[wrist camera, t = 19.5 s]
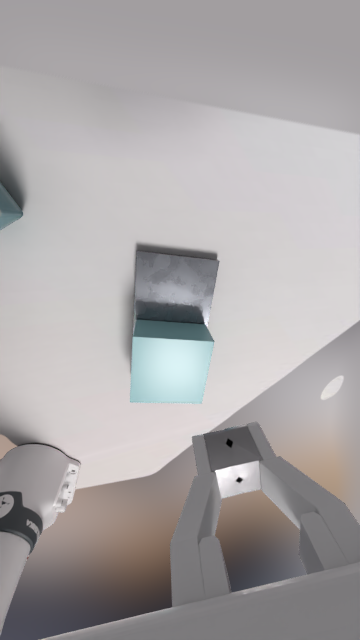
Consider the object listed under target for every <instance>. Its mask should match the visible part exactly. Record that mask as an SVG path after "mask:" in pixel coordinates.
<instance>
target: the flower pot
mask: <svg viewBox="0 0 360 640" xmlns="http://www.w3.org/2000/svg"><path fill="white" fill-rule="evenodd" d="M22 216H23V212H22V210H21V209H20V207H19V206H18V205H17V203H16V202H15V201H14V200H13V198H12V197H11V196H10V194H9V193H8V192H7V190H6V189H5V188H4V186H3V185H2V184H1V182H0V230H2V229H3V228H5V227H6V226H8V225H10V224H11V223H13V222H14V221H16V220H18V219H19V218H21V217H22Z"/></svg>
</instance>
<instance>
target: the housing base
mask: <svg viewBox="0 0 360 640" xmlns="http://www.w3.org/2000/svg"><path fill="white" fill-rule="evenodd" d="M218 266H219V261H218V260H215V259H206V258H197V257H189V256H180V255H172V254H163V253H154V252H146V251H137V256H136V279H135V303H134V326H133V333H134V329H135V325H136V320H151V321H165V322H178V323H192V324H205V325H206V327H207V325H208V320H209V315H210V309H211V304H212V298H213V293H214V288H215V282H216V277H217V271H218Z"/></svg>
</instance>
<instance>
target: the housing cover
mask: <svg viewBox="0 0 360 640" xmlns="http://www.w3.org/2000/svg"><path fill="white" fill-rule="evenodd" d="M213 346H214V340H213V338H212V336H211V334H210V332H209V330H208V329H207V327H206V325H205V324H192V323H178V322H165V321H151V320H136V325H135V329H134V333H133V342H132V366H131V390H130V402H140V403H192V404H202V400H203V395H204V390H205V385H206V380H207V375H208V370H209V365H210V360H211V356H212V351H213Z"/></svg>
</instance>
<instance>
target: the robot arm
mask: <svg viewBox="0 0 360 640" xmlns="http://www.w3.org/2000/svg"><path fill="white" fill-rule="evenodd" d="M203 435H204V436H203ZM204 440H205V441H204ZM192 442H193V448H194V454H195V460H196V466H197V472H198V476H195V477H194V480H193V483H192V485H191V488H190V491H189V494H188V496H187V499H186V502H185V504H184V507H183V510H182V513H181V516H180V518H179V521H178V524H177V527H176V529H175V532H174V535H173V537H172V540H171V543H170V555H171V579H172V580H171V581H172V608H168V609H164V610H160V611H155V612H151V613H147V614H143V615H139V616H135V617H131V618H127V619H123V620H118V621H114V622H110V623H106V624H102V625H98V626H94V627H90V628H85V629H81V630H77V631H73V632H69V633H65V634H61V635H57V636H53V637H48V638H44V639H40V640H360V525H359V523H358V522H357V520H356V519H355V518H354V516H353V515H352V513H351V512H350V510H349V509H348V507H347V506H346V504H345V503H344V502H342V501H341V500H340V499H338V498H337V497H336V496H334V495H333V494H331V493H330V492H329V491H327V490H326V489H324V488H323V487H322V486H320V485H319V484H318V483H316V482H315V481H313V480H312V479H311V478H309V477H308V476H306V475H305V474H304V473H302V472H301V471H299V470H298V469H297V468H295V467H294V466H293V465H291V464H290V463H289V462H287V461H286V460H284V459H283V458H282V457H280V456H279V457H276V455H275V453H274V451H273V449H272V448H271V446H270V444H269V442H268V440H267V438H266V436H265V434H264V433H263V431H262V429H261V427H260V425H259V423H258V422H253V423H249V424H243V425H239V426H235V427H231V428H227V429H224V430H221V431H216V432H211V433H206V434H201V435H197V436H192ZM205 444H206V445H205ZM80 466H81V464H80V463H79V462H78V461H76V460H73V459H70V458H68V457H67V456H66V455H65V454H63V453H62V452H61V451H59V450H57V449H55V448H52V447H49V446H45V445H39V444H28V445H22V446H18V447H15V448H13V449H11V450H10V451H9V452H7V453H6V455H5V456H4V457H3V458H2V459H1V460H0V634H1V630H2V627H3V624H4V620H5V617H6V614H7V611H8V608H9V605H10V603H11V600H12V597H13V594H14V592H15V589H16V586H17V583H18V581H19V578H20V575H21V573H22V570H23V567H24V565H25V562H26V560H27V559H28V555H29V554H30V553H31V552H32V550H33V548H34V547H35V546H36V544H37V542H38V540H39V537H40V535H41V533H42V531H43V530H44V529H46V528H47V527H49V526H51V525H52V524H53V523H54V522H55V520H56V517H57V515H58V512H65V510H66V506H67V505H68V504H70V503H71V502H72V499H73V496H74V492H75V488H76V483H77V479H78V474H79V470H80ZM260 489H262V491H263V492H264V493H265V494H266V495H267V496H268V497H269V498H270V499H271V500H272V501H273V502H274V504H275V505H277V507H278V508H279V509H280V510H281V511H282V512H283V513H284V514H285V515H286V516H287V517H288V518H289V519H290V520H291V521H292V522H293V523H294V524H295V525H296V526H297V527H298V528H299V529H300V541H299V556H300V559H301V561H302V563H303V566H304V568H305V570H306V573H307V575H304V576H300V577H295V578H291V579H287V580H283V581H279V582H275V583H271V584H267V585H263V586H258V587H254V588H250V589H246V590H242V591H238V592H234V593H232V592H231V588H230V583H229V578H228V574H227V570H226V566H225V562H224V558H223V554H222V550H221V546H220V542H219V539H217V538H216V537H215V532H216V527H217V522H218V517H219V512H220V507H221V502H222V498H226V497H229V496H233V495H237V494H241V493H245V492H250V491H255V490H260Z"/></svg>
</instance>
